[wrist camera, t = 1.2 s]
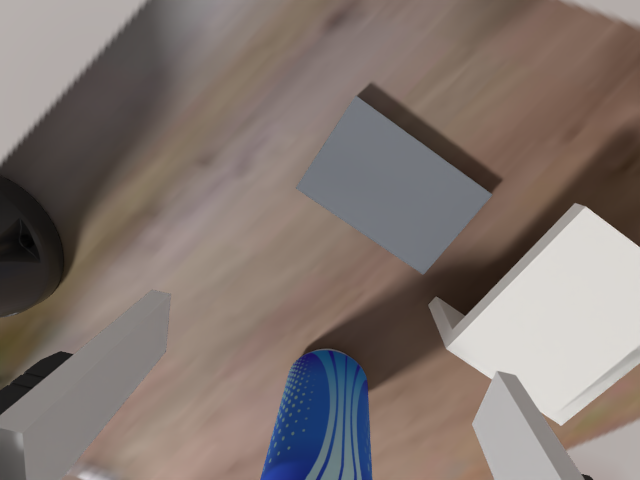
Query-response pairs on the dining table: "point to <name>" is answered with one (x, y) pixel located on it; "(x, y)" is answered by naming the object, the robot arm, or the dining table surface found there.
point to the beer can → (322, 422)
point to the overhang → (557, 316)
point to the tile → (391, 187)
